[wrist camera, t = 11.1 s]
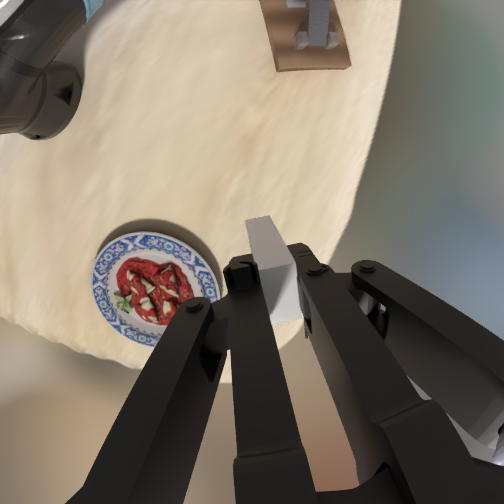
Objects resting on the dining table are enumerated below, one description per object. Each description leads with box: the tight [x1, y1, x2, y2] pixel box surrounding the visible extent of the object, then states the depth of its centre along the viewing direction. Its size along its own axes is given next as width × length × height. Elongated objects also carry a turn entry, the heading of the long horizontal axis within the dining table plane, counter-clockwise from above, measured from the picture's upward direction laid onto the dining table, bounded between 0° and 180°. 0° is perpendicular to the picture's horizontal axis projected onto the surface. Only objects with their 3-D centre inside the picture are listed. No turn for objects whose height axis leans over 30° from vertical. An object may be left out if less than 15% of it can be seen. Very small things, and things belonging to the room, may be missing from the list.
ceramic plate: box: [91, 232, 220, 347], centre depth 48 cm, size 26×26×3 cm
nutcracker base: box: [259, 0, 351, 72], centre depth 29 cm, size 18×12×7 cm, turn 10°
